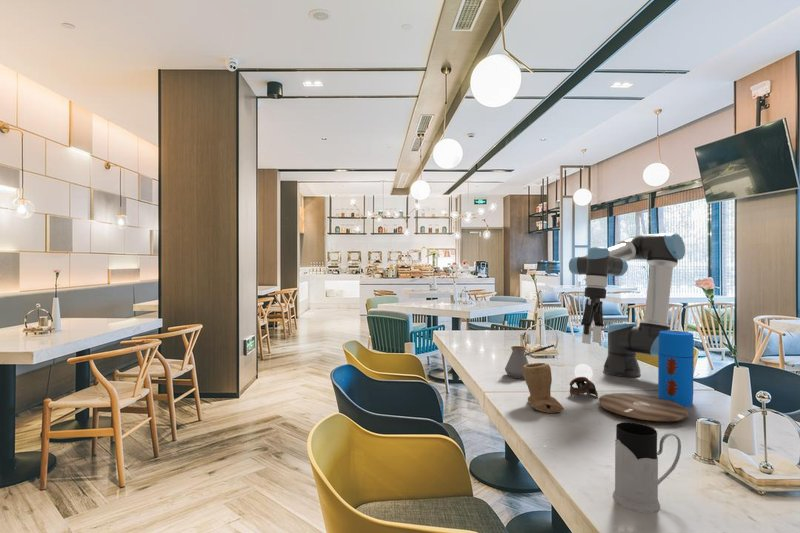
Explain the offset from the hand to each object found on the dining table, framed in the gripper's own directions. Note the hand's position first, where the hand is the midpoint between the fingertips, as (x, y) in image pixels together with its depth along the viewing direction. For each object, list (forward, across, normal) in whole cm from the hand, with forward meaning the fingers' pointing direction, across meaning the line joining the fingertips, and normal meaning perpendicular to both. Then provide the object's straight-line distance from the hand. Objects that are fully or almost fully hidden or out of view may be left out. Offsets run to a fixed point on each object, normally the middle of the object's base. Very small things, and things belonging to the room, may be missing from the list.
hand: (591, 343), depth 165 cm
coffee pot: (+20, -12, -28) cm, 36 cm away
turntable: (+18, +7, +19) cm, 28 cm away
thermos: (+17, -14, +27) cm, 35 cm away
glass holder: (+27, +68, +31) cm, 80 cm away
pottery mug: (+20, +1, -1) cm, 20 cm away
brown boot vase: (+23, +24, -8) cm, 34 cm away
